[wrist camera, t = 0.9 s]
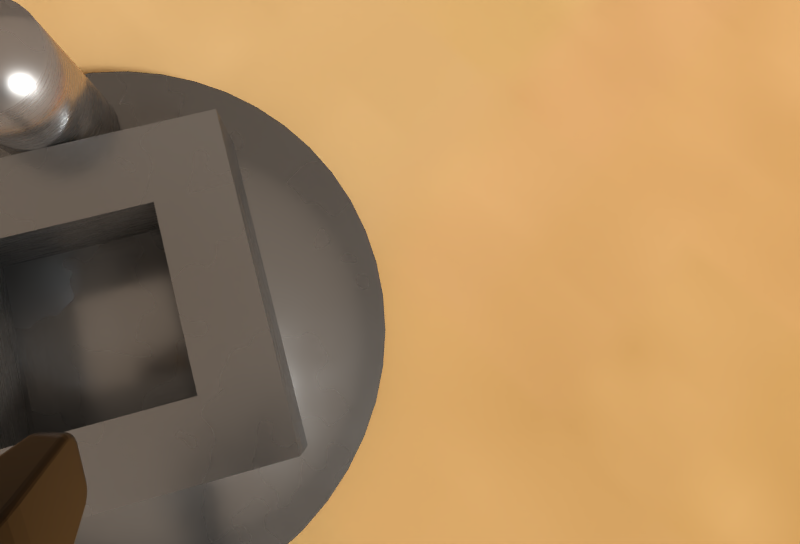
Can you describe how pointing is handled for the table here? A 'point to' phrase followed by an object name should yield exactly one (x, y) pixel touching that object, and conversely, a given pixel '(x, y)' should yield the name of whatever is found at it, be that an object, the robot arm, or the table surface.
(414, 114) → the table surface
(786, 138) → the table surface
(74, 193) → the grey peg hole base
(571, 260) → the table surface
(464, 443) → the table surface
